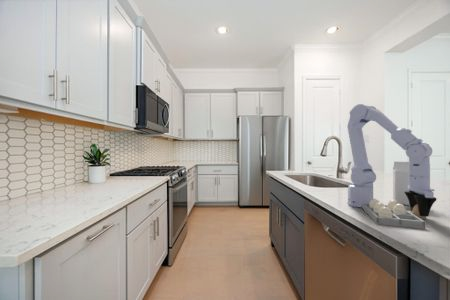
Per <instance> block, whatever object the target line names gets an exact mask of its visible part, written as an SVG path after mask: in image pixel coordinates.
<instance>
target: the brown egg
mask: <svg viewBox="0 0 450 300" xmlns="http://www.w3.org/2000/svg"><path fill="white" fill-rule="evenodd" d="M411 213H412V214H414V215H415V216H417V217H419V218H420V219H422V220H427V217H426V216H420V215H419V211H418V205H415V206H414V207H413V209H412V210H411Z"/></svg>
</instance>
